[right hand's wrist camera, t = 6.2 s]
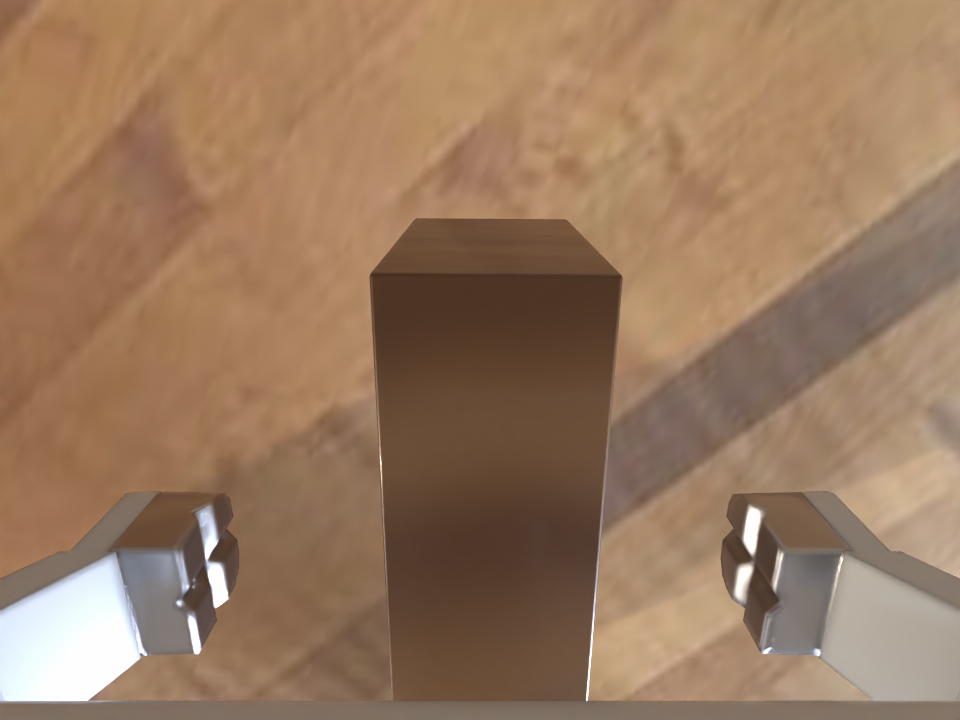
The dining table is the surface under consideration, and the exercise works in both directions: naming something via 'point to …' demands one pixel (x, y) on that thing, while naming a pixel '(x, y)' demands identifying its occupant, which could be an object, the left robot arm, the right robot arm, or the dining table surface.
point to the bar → (493, 454)
